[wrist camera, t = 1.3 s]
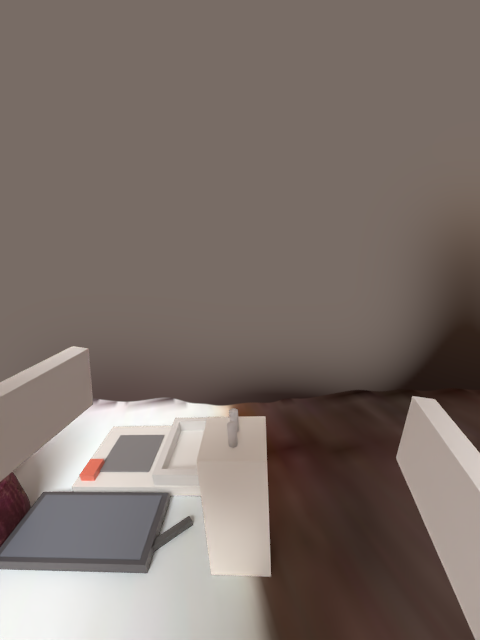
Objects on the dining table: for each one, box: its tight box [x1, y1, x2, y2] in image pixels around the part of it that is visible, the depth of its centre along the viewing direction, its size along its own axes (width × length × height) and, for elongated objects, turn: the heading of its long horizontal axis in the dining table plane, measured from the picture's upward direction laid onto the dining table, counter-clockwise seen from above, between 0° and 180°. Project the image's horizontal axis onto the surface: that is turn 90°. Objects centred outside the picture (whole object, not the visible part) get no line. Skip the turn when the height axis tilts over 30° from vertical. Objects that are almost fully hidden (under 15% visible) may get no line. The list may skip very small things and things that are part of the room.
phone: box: [0, 492, 170, 573], centre depth 29 cm, size 7×14×1 cm, turn 87°
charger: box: [196, 408, 271, 577], centre depth 25 cm, size 5×5×14 cm
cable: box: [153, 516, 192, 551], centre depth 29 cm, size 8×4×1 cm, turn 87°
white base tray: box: [72, 417, 207, 496], centre depth 37 cm, size 20×10×3 cm, turn 87°
